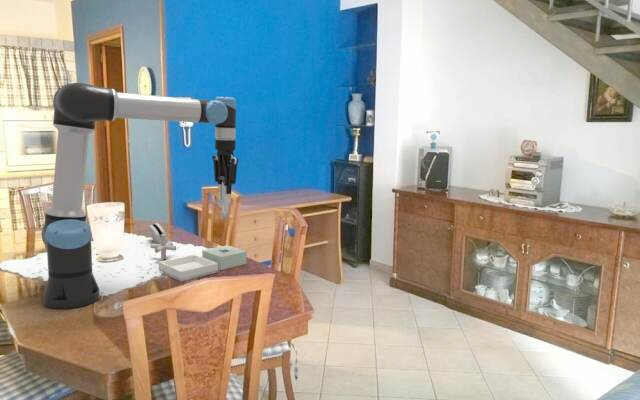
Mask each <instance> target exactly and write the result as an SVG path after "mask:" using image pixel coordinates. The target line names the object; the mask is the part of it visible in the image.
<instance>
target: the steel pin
mask: <svg viewBox="0 0 640 400" xmlns="http://www.w3.org/2000/svg"><path fill="white" fill-rule="evenodd" d="M220 180H222V201H221V219H223V220H226V219H229V202H227V203H224V184H225V176H220Z"/></svg>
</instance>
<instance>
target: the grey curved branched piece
mask: <svg viewBox="0 0 640 400" xmlns="http://www.w3.org/2000/svg"><path fill="white" fill-rule="evenodd" d="M148 231H149V233H150V236H151V237H152V240H153V241H154V242H155V244H161V234H166V243H168V242H171V241H170V239H169V238H168V236H167V233H166V232H165V229H164V228H163V227H162V226H161V224H159V223H158V222H155V223H153V224H150V225H149V226H148ZM171 243H172V246H174V243H173V242H171Z"/></svg>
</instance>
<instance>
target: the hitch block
mask: <svg viewBox="0 0 640 400" xmlns="http://www.w3.org/2000/svg"><path fill="white" fill-rule="evenodd" d="M201 252H202V253H201V257H203V258H205V259H208V260H210V261H213V262H215V263H218V271H223V270H227V269H232V268H235V267H240V266H243V265H244V266H245V265H247V250H243V249H241V248H237V247H234V246H231V245H229V244H227V245H222V246H217V247H216V246H215V247H212V248H208V249H207V248H206V249H202V251H201Z"/></svg>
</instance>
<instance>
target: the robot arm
mask: <svg viewBox="0 0 640 400" xmlns="http://www.w3.org/2000/svg"><path fill="white" fill-rule="evenodd" d="M236 101H237V100H236V98H234V97H233V96H231V97H230V96H216V97H215V99H214V100H208V99H207V100H206V99H198V98H197V99H196V98H183V97H177V96H176V97H174V96H163V95H153V94H152V95H151V94H143V93H142V94H141V93H130V92H129V93H128V92H119V91H116V90H115V89H114V88H110V87H103V86H97V85H93V84H88V83H84V82H72V83H66V84H63V85H62V86H60V87H59V88H58V89H57V90H56V92H55V93H54V95H53V100H52V103H53V108H54V111H53V119H52V120H53V123H52V125H53V126H54V128H55V129H56V130H57V139H56V151H55V162H54V163H55V164H54V173H53V174H54V176H53V185H52V186H53V187H52V198H51V206H50V207H49V208H48V209H46V211H45V212H44V223H43V224H44V225H43V227H42V229H41V239H42V242H43V245H44V246H45V249H46V255H47V270H48V276H47V277H48V278H47V281H46V285H45V286H44V287H45V288H44V291H43V294H42V304H43V306H45V307H46V308H47V307H48V308H50V309H55V310H56V309H59V310H60V309H61V310H63V309H74V308H79V307H83V306H87V305H90V304H92V303H94V302H96V301H97V300H98V299H99V298H100V295H101V294H100V288H99V285H98V283H97V280H96V278H95V275H94V273H93V259H92V258H93V257H92V256H93V255H92V254H93V253H92V234H93V233H92V231H91V226H90V225H89V223H88V222H87V212H86V211H85V210H84V209H83V199H84V198H83V197H84V188H85V178H86V171H87V170H86V169H87V160H88V159H87V158H88V150H89V149H88V148H89V147H88V146H89V140H90V139H89V138H90V135H91V133H93V132H94V131H95V128H96V122H101V121H102V122H103V121H104V122H105V121H107V122H114V121H115V120H116V119H118V118H119V119H132V120H149V121H165V122H167V121H168V122H184V123H199V124H212V125H214V129H215V130H214V138H215V140H214V150H216V151H217V152H216V154H215V155H212V161H213V172H214V175H213V176H214V182H215V183H216V182H217V184H218V202H222V180H220V176H225V184H224V203H227V202H228V203H231V202H232V198H231V197H232V186H233V185H235V184H236V181H237V172H238V163H239V161H240V160H239V158H238V157H237V158H236V157H235V154H234V151H235V150H236V145H237V144H236V143H237V142H236V138H237V136H236V131H237V130H236V128H237V127H236V126H237V124H236V122H237V118H236V117H237V102H236Z"/></svg>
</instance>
